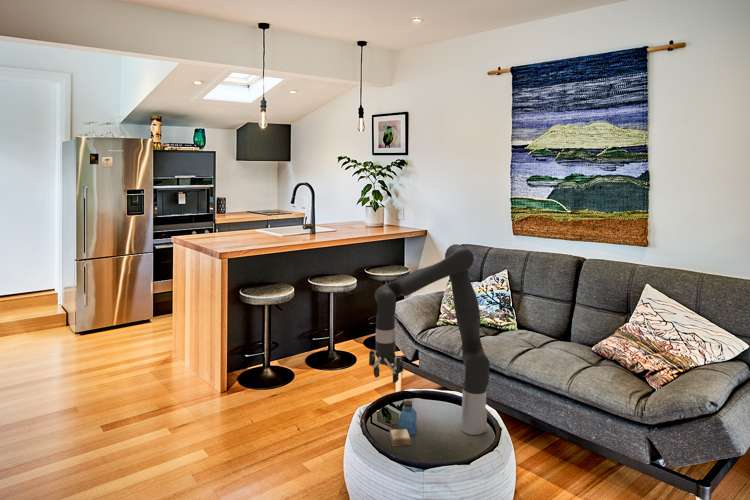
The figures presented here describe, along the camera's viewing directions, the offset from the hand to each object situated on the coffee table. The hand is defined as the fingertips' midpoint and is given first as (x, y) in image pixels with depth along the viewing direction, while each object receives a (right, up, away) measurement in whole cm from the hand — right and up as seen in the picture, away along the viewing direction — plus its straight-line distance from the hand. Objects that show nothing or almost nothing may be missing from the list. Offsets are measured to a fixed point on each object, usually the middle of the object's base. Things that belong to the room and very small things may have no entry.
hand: (385, 379), depth 208 cm
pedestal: (+5, -24, 0) cm, 24 cm away
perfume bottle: (+9, -22, +8) cm, 25 cm away
